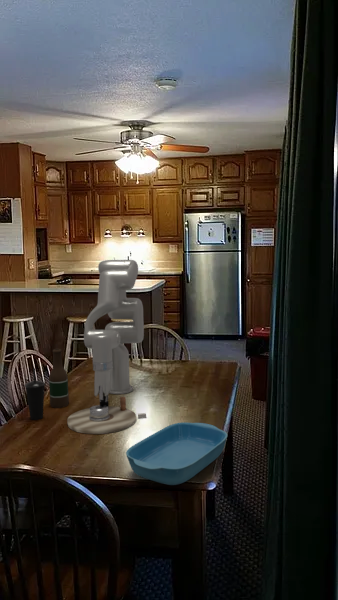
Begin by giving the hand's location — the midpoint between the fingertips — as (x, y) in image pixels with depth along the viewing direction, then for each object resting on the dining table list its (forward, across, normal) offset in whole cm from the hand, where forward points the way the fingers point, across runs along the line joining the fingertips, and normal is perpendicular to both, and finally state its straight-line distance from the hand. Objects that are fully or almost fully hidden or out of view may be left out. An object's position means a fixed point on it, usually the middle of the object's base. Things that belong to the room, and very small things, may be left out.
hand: (104, 411), depth 204 cm
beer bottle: (+3, -14, -22) cm, 26 cm away
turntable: (+2, +5, 0) cm, 6 cm away
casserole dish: (+3, +41, +31) cm, 52 cm away
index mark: (+2, +1, +15) cm, 15 cm away
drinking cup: (+3, +1, -27) cm, 27 cm away
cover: (+1, +6, -1) cm, 6 cm away
